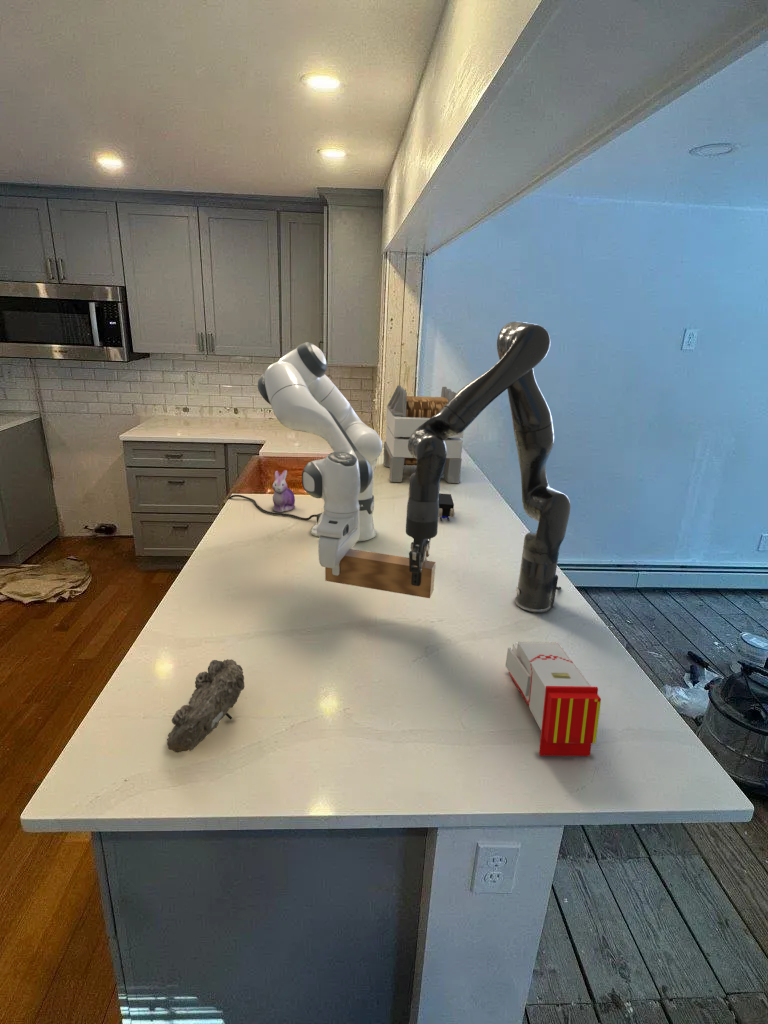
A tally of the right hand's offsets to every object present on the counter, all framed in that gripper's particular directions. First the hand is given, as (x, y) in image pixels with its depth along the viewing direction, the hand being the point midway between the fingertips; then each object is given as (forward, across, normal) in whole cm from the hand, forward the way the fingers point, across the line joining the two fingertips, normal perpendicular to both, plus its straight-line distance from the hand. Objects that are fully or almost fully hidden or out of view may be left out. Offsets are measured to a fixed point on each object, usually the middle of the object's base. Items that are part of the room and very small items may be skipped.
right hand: (418, 580), depth 139 cm
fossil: (+12, -47, +29) cm, 56 cm away
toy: (+12, -23, -32) cm, 41 cm away
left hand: (0, 0, +20) cm, 20 cm away
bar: (+3, 0, +10) cm, 11 cm away
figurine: (+12, +65, +67) cm, 94 cm away
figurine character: (+12, +80, +7) cm, 81 cm away
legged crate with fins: (+12, +137, +30) cm, 140 cm away
